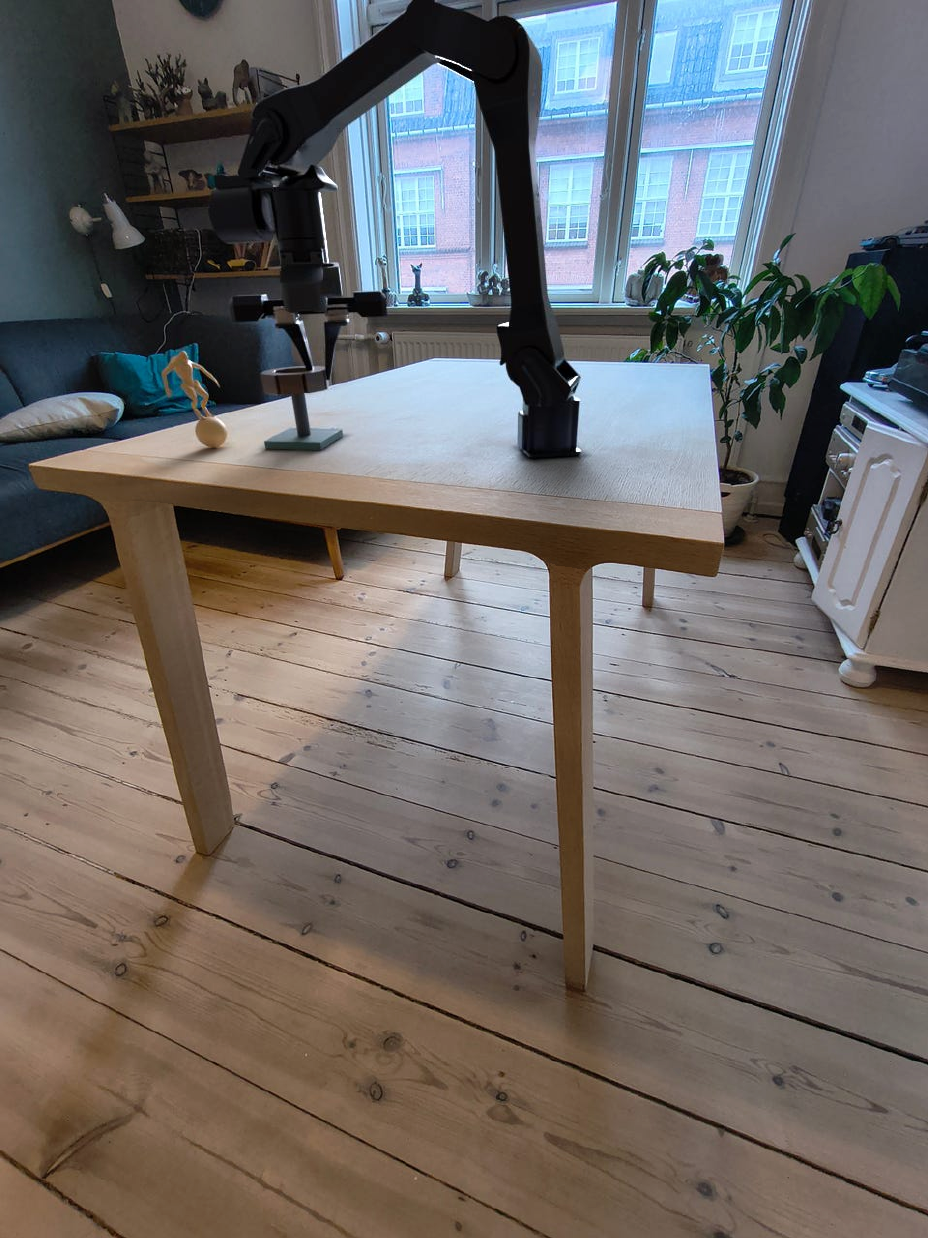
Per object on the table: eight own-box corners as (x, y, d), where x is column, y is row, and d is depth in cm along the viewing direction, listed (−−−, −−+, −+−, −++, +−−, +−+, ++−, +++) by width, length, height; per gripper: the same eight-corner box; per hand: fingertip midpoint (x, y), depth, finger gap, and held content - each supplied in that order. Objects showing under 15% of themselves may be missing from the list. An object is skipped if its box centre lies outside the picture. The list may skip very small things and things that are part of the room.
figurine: (200, 455, 77) (175, 355, 71) (169, 451, 79) (142, 354, 73) (248, 441, 83) (228, 347, 77) (217, 437, 86) (196, 346, 80)
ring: (330, 383, 82) (328, 364, 81) (325, 392, 75) (322, 372, 74) (270, 386, 82) (267, 367, 80) (259, 396, 75) (255, 376, 73)
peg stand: (343, 435, 85) (335, 375, 81) (321, 450, 78) (311, 385, 74) (291, 434, 86) (281, 375, 82) (265, 448, 79) (252, 385, 75)
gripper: (204, 238, 63) (236, 394, 70) (381, 233, 65) (394, 385, 72) (225, 243, 72) (252, 380, 80) (379, 239, 74) (391, 373, 82)
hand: (321, 380), depth 78 cm, fingers closed on ring, 2 cm apart
